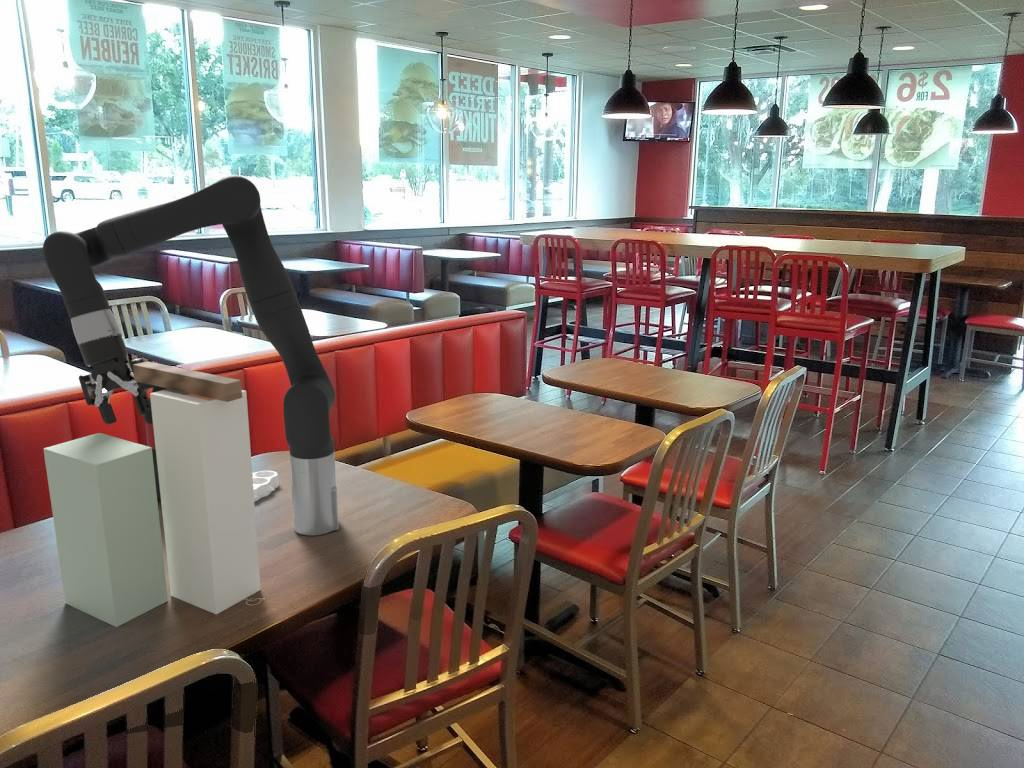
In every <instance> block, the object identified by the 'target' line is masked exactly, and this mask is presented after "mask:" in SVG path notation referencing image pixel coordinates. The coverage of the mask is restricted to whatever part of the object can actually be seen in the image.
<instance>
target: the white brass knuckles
mask: <svg viewBox="0 0 1024 768" xmlns="http://www.w3.org/2000/svg"><path fill="white" fill-rule="evenodd" d="M252 477H253V491H254V503H255V502H258V501H259V500H260V499H262V498H263V497H264V498H265V497H268V496H269V495H270V494H272V492H273V491H275V490H276V488H279V473H278V472H276V471H274V470H260V471H257V472H252Z"/></svg>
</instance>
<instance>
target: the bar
mask: <svg viewBox="0 0 1024 768" xmlns="http://www.w3.org/2000/svg"><path fill="white" fill-rule="evenodd" d="M133 371H134V374H133V375H134V380H135V381H137V382H141V383H145V384H150V385H154V386H159V387H163V388H168V389H172V390H177V391H181V392H186V393H190V394H195V395H199V396H204V397H208V398H212V399H217V400H221V401H226V402H229V401H233V400H236V399H240V398H242V390H243V387H242V380H241V379H236V378H231V377H227V376H222V375H217V374H212V373H207V372H202V371H196V370H192V369H188V368H183V367H182V368H181V367H178V366H174V365H173V366H172V365H167V364H162V363H157V362H152V361H144V362H143V363H138V364H134V365H133Z"/></svg>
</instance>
